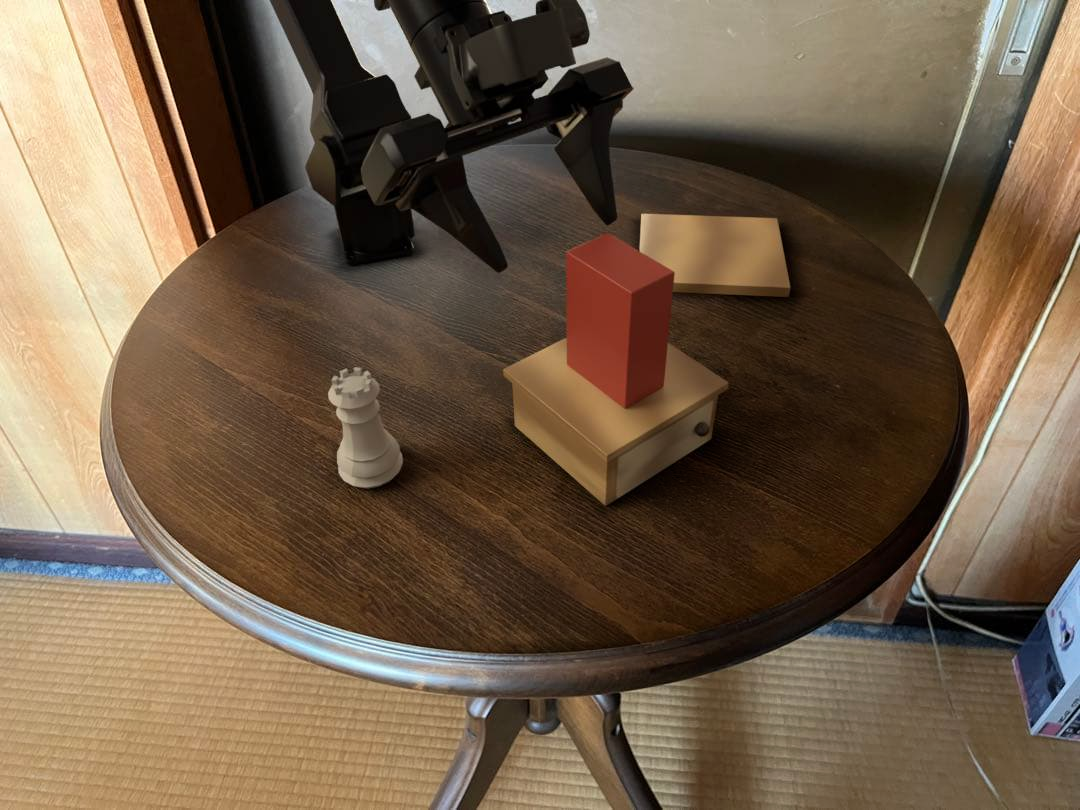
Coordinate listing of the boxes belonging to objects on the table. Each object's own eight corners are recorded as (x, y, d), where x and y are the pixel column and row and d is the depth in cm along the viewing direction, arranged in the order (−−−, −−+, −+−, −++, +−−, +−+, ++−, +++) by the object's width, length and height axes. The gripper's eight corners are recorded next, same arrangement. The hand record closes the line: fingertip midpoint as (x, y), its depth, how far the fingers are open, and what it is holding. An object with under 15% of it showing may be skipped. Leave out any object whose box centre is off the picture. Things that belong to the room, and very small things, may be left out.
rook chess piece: (384, 499, 55) (363, 410, 50) (326, 482, 57) (301, 393, 51) (415, 454, 59) (399, 366, 53) (360, 439, 60) (339, 351, 55)
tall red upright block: (625, 409, 54) (631, 293, 48) (566, 364, 57) (565, 251, 51) (664, 387, 55) (675, 271, 49) (604, 344, 59) (608, 232, 53)
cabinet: (612, 519, 54) (614, 462, 50) (506, 425, 61) (502, 369, 57) (727, 445, 59) (737, 387, 55) (617, 365, 65) (620, 310, 62)
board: (637, 290, 73) (638, 281, 72) (640, 222, 82) (641, 213, 81) (788, 297, 72) (790, 287, 71) (775, 227, 81) (777, 218, 80)
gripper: (348, -20, 43) (488, 253, 43) (619, -80, 51) (733, 150, 52) (312, 91, 53) (425, 311, 53) (543, 25, 61) (639, 217, 62)
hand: (559, 245), depth 55 cm, fingers open, 9 cm apart
